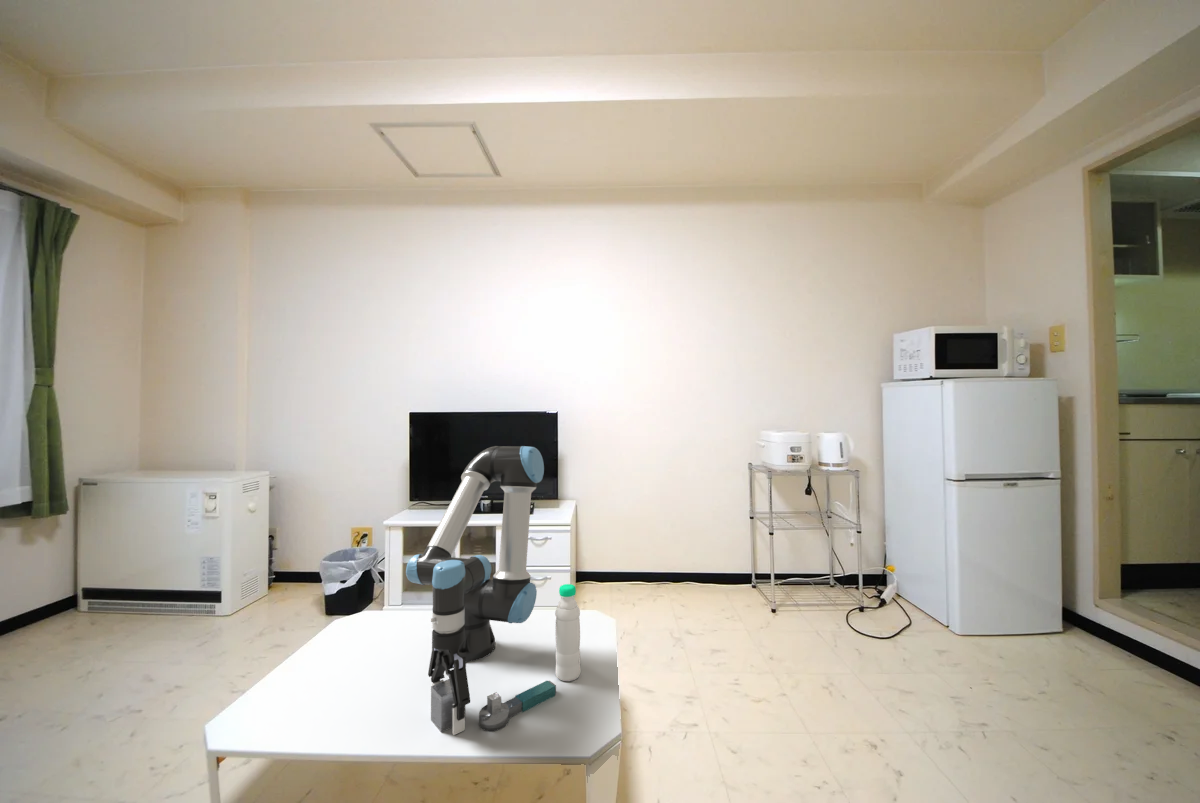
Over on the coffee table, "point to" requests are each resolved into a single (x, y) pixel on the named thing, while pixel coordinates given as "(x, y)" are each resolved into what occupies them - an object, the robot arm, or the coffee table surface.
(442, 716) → the grey metal block
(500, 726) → the ratchet
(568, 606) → the water bottle
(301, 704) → the coffee table surface
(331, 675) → the coffee table surface
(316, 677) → the coffee table surface
